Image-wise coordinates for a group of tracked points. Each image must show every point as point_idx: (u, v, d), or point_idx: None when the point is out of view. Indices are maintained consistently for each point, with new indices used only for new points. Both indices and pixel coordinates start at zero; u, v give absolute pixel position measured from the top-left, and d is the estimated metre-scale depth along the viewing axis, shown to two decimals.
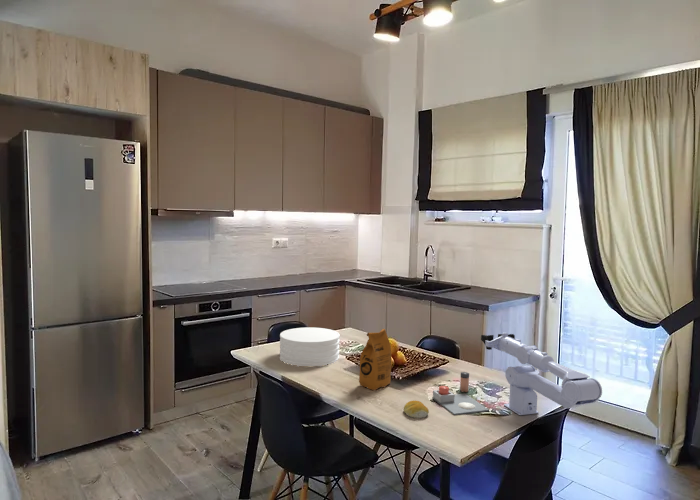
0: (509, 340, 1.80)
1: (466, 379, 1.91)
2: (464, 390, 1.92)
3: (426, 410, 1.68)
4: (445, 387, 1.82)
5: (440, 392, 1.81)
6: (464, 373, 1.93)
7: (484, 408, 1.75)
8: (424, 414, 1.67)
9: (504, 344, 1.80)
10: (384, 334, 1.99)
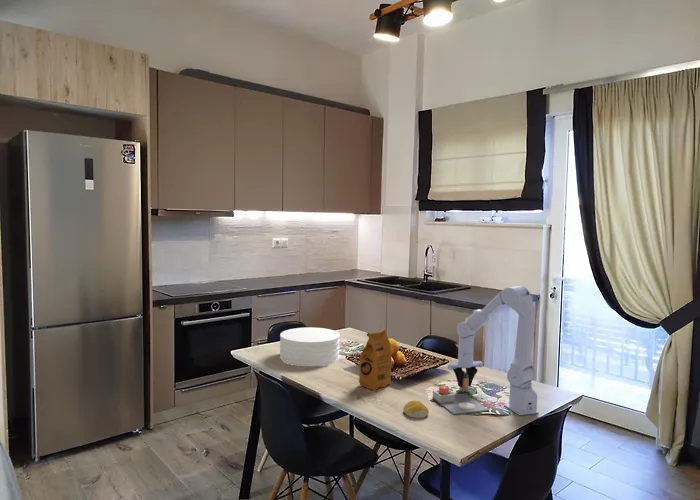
0: None
1: (466, 379, 1.91)
2: (464, 390, 1.92)
3: (426, 410, 1.67)
4: (445, 387, 1.82)
5: (440, 392, 1.81)
6: (464, 373, 1.93)
7: (484, 408, 1.75)
8: (424, 414, 1.67)
9: (458, 354, 1.92)
10: (384, 334, 1.99)
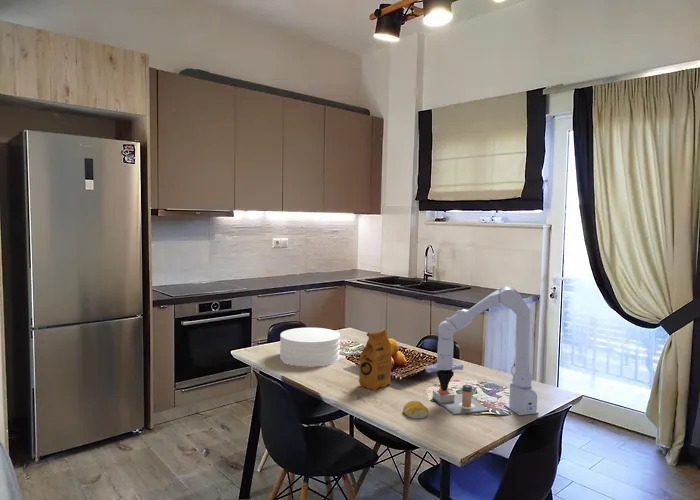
0: None
1: (468, 393, 1.75)
2: (466, 405, 1.75)
3: (426, 410, 1.67)
4: None
5: None
6: (466, 386, 1.76)
7: (484, 408, 1.75)
8: (424, 414, 1.66)
9: (437, 356, 1.81)
10: (384, 334, 1.99)
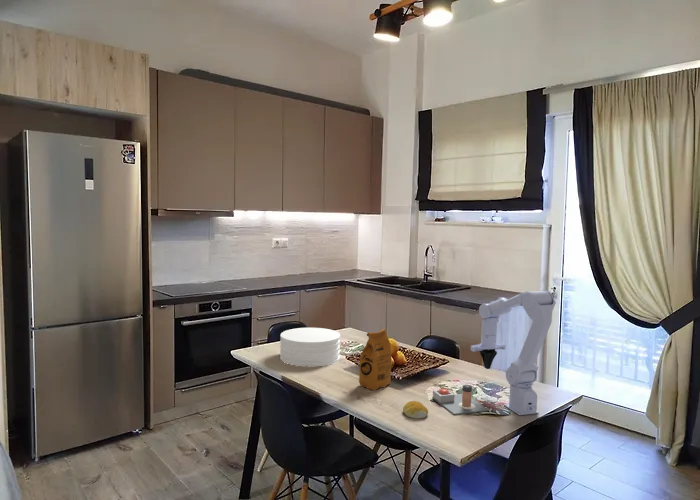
0: None
1: (468, 393, 1.75)
2: (466, 405, 1.75)
3: (426, 410, 1.67)
4: (445, 390, 1.82)
5: None
6: (466, 386, 1.76)
7: (484, 408, 1.75)
8: (424, 415, 1.66)
9: (481, 336, 1.91)
10: (384, 334, 1.99)
